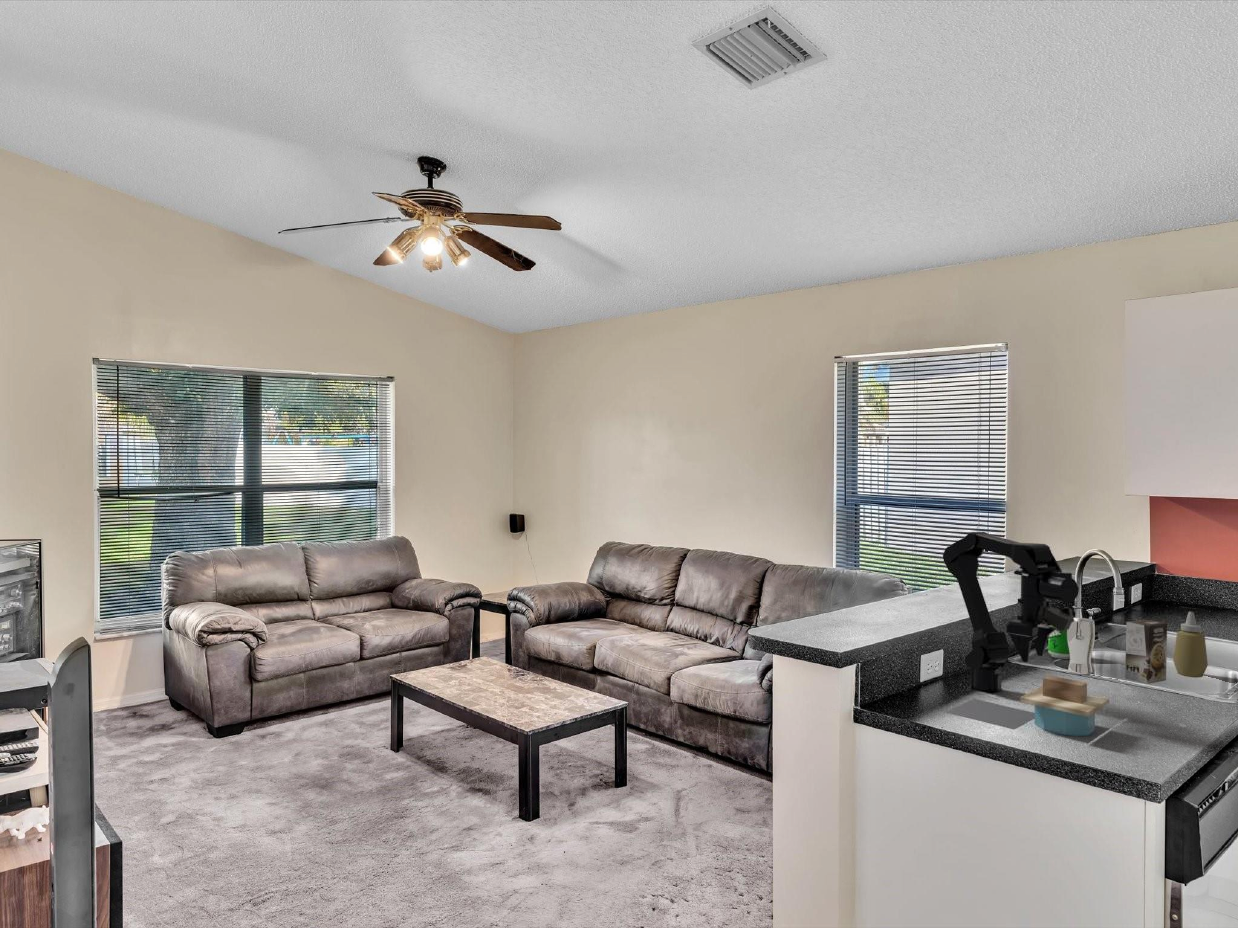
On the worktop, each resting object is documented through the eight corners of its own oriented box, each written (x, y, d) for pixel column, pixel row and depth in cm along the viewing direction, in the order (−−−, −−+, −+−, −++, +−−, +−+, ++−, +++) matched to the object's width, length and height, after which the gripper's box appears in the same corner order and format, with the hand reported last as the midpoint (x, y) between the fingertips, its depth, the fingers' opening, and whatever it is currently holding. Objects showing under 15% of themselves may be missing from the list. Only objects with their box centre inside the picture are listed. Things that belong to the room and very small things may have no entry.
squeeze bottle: (1165, 671, 233) (1166, 609, 233) (1192, 671, 234) (1193, 609, 234) (1187, 679, 225) (1189, 614, 225) (1214, 679, 226) (1216, 614, 226)
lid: (1019, 701, 183) (1020, 679, 183) (1043, 689, 193) (1043, 668, 193) (1087, 716, 173) (1088, 693, 173) (1109, 703, 182) (1109, 681, 182)
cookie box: (1148, 684, 220) (1149, 625, 220) (1124, 678, 225) (1125, 620, 225) (1167, 680, 224) (1168, 622, 224) (1143, 674, 230) (1144, 618, 229)
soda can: (1073, 654, 252) (1073, 616, 252) (1078, 660, 245) (1078, 621, 245) (1046, 652, 255) (1046, 614, 254) (1050, 658, 248) (1050, 619, 247)
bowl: (1028, 728, 183) (1029, 701, 183) (1047, 717, 191) (1047, 692, 191) (1082, 741, 175) (1082, 713, 175) (1099, 729, 182) (1099, 703, 182)
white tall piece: (1098, 675, 228) (1098, 622, 228) (1071, 674, 230) (1072, 621, 229) (1089, 669, 235) (1089, 617, 235) (1062, 667, 236) (1063, 616, 236)
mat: (944, 713, 193) (944, 711, 193) (974, 700, 204) (974, 698, 204) (1014, 730, 181) (1014, 729, 181) (1041, 715, 192) (1041, 714, 192)
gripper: (1054, 604, 186) (1053, 672, 186) (1083, 595, 198) (1082, 658, 199) (1005, 597, 194) (1004, 662, 194) (1035, 589, 207) (1034, 650, 207)
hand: (1032, 658), depth 198 cm, fingers open, 9 cm apart
